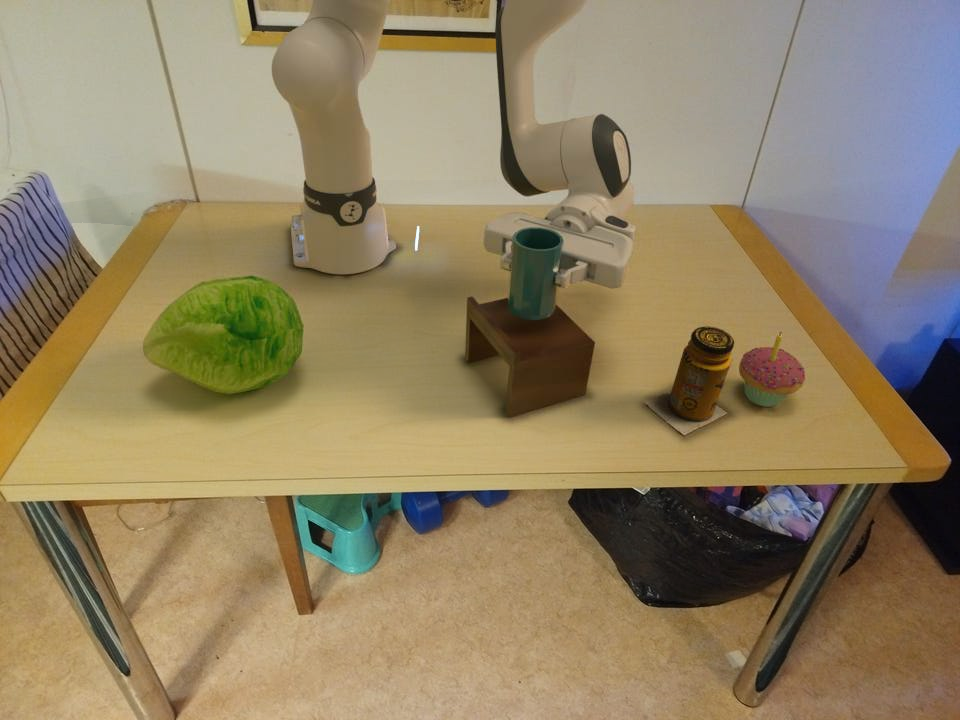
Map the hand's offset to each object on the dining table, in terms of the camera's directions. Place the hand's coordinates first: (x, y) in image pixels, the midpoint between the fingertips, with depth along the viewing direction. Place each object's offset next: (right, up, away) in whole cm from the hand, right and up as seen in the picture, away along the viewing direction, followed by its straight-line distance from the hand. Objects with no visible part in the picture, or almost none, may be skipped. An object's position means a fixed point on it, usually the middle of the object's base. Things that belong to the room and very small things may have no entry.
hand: (532, 273), depth 83 cm
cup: (0, -4, +4) cm, 6 cm away
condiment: (+21, -18, +7) cm, 29 cm away
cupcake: (+33, -16, +10) cm, 38 cm away
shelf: (0, -13, +11) cm, 17 cm away
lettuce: (-40, -14, +8) cm, 43 cm away
